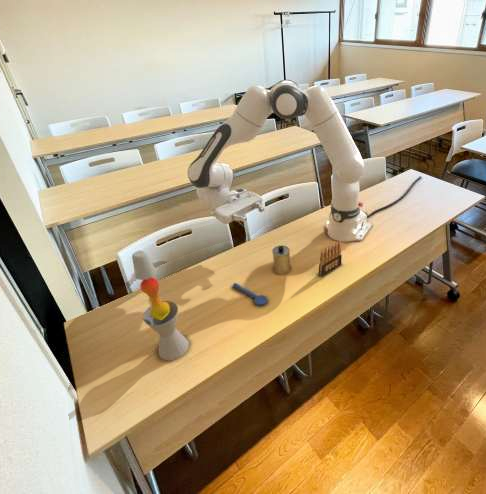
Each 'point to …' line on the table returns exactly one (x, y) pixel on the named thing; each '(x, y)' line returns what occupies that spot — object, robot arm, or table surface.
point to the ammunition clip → (330, 258)
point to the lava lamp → (159, 310)
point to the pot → (281, 259)
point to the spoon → (253, 295)
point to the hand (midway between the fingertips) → (254, 214)
